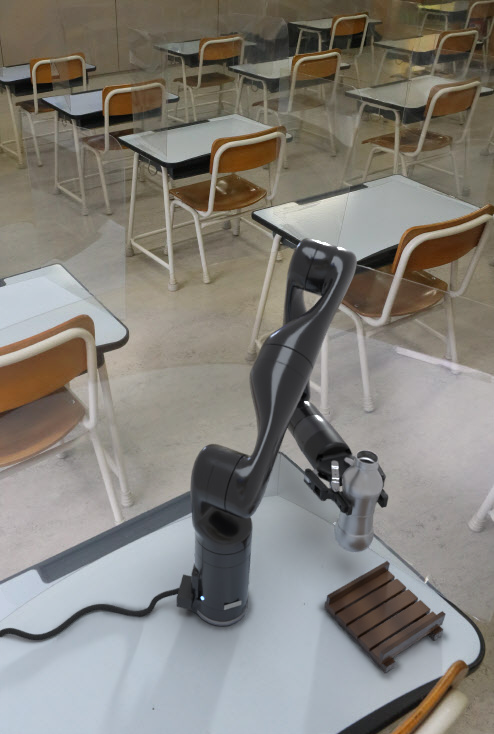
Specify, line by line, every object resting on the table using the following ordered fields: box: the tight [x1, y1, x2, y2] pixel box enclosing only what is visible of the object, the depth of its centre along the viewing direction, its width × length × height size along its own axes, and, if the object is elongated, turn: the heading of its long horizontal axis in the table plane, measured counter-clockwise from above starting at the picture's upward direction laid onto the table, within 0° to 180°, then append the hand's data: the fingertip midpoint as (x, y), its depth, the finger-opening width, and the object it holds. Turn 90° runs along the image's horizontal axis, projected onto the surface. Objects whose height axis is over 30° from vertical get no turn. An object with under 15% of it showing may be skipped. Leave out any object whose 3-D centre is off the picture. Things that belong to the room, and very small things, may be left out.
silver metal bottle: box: [333, 449, 384, 553], centre depth 117 cm, size 6×7×20 cm
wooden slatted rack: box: [323, 560, 446, 674], centre depth 114 cm, size 14×14×4 cm
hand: (367, 507), depth 114 cm, fingers closed on silver metal bottle, 6 cm apart
